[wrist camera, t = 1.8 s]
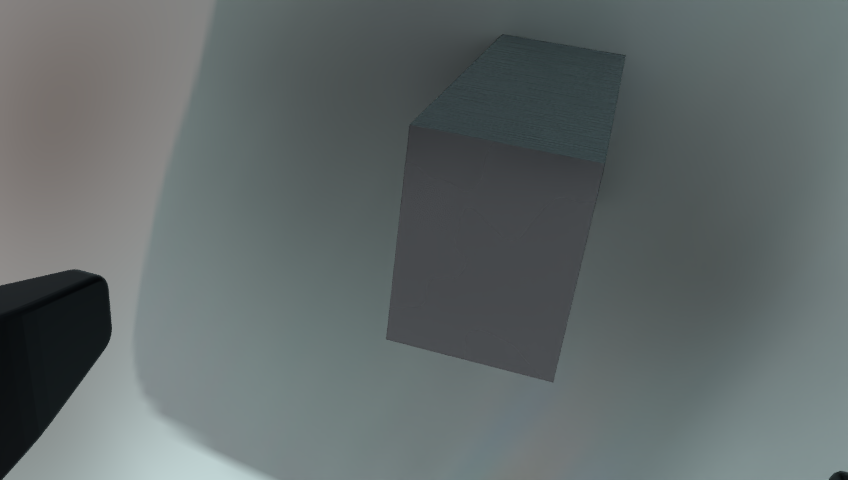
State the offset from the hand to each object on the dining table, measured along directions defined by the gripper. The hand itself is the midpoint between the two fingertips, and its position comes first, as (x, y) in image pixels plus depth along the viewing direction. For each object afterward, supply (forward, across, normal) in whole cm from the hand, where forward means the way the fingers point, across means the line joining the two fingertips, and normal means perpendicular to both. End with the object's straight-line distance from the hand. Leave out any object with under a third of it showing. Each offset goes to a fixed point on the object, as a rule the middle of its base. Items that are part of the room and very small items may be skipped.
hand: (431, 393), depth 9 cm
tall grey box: (+12, 0, 0) cm, 12 cm away
